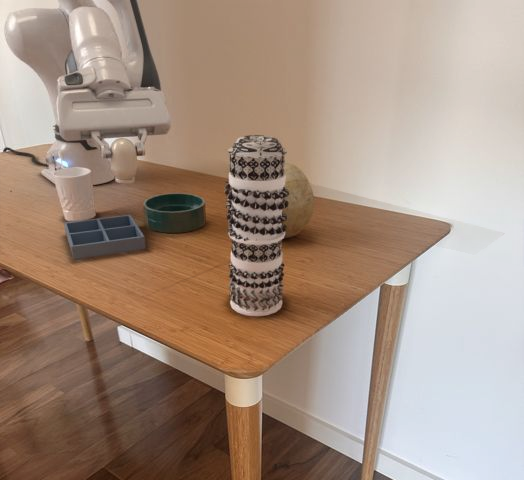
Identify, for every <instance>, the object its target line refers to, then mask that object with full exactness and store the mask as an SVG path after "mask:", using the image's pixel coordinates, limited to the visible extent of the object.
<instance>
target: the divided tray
mask: <svg viewBox="0 0 524 480" xmlns="http://www.w3.org/2000/svg"><path fill="white" fill-rule="evenodd" d="M63 226H64V230H65V236H66V239H67V242H68V245H69V249H70V253H71V255H72V258H73V261H75V260H81V259H88V258H95V257H102V256H108V255H115V254H116V255H117V254H123V253H129V252H135V251H136V252H137V251H141V250H142V251H143V250H146V249H147V246H146V239H145V235H144V234H143V232H142V230H141V229H140V227H139V225H138V224H137V222H136V221H135V220H134V218H133V216H132V215H131V214H125V215H123V214H122V215H115V216H108V217H107V216H106V217H101V218H100V217H99V218H90V219H87V220H81V221H67V222H63Z"/></svg>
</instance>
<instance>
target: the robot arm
mask: <svg viewBox="0 0 524 480" xmlns="http://www.w3.org/2000/svg"><path fill="white" fill-rule="evenodd" d="M106 1H107V2H108V3H110V5H111V6H112V7H113V8H114V10H115V12H116V14H117V16H118V20H119V24H120V26H121V27H120V28H121V30H122V33H123V37H124V40H125V44H126V48H127V51H128V55H127V56H125V57H123V50H122V47H121V43H120V40H119V36H118V34H117V32H116V31H117V30H116V28H115V26H114V23H113V21H112V19H111V17H110V16H109V14H108V13H107V12H106V11H105V10H104V9H103V8H101V7H99V6H97V4H96V3H95V1H94V0H58V7H57V8H41V7H40V8H37V7H36V8H35V7H33V8H32V7H29V8H25V9H19V10H15V11H12V12H9V13H8V14H7V17H6V18H5V21H4V27H3V28H4V29H3V32H4V38H5V41H6V44H7V46H8V48H9V49H10V51H11V52H12V54H13V55H14V56H15V57H16V58H17V59H18V60H20V61H21V62H22V63H24V64H26V65H27V66H28V67H29V68H31V69H32V70H33V72H34V73H36V75H37V76H38V77H39V78H40V80H41V81H42V83H43V85H44V87H45V88H46V92H47V93H48V97H49V100H50V103H51V107H52V111H53V115H54V116H53V117H54V121H55V124H54V125H52V127H54V128H53V131H54V138H55V141H54V142H53V144H52V145H51V147H50V148H49V149H48V150H47V152H46V156H45V157H44V160H45V163H43V162H40V161H39V160H36V159H35V158H36V157H35V154H33V153H30V152H24V151H17V150H14V149H13V148H11V147H8V146H6V147H4V148H3V150H2V152H3V153H7V151H9V152H11V153H13V154H15V155H20V156H26V157H27V156H28V157H30V159H31V162H33V164H34V163H35V164H37V165H38V166H42V167H46V168H44V169H42V170H40V173H41V176H43V177H45V178H46V179H47V180H48V181H50V182H51V183H53V184H54V185H55V182H54V178H53V174H52V173H53V172H54V171H56V170H59V169H64V168H73V167H80V168H87V169H90V170H91V175H92V183H93V186H95V185H100V184H101V185H102V184H105V183H109V182H112V181H113V180H115V177H116V176H115V175H114V174H113V172H112V169H111V160H110V158H111V151H110V147H111V146H110V144H109V143H108V142H107V141H106V140H105V139H119V138H133V137H137V138H138V141H139V142H135V143H134V145H135V147H136V150H137V157H142V156H143V157H144V156H146V147H145V144H146V141H147V137H148V136H161V135H162V136H164V135H167V134H168V133H169V131H170V130H171V126H172V117H171V115H170V111H169V109H168V107H167V100H166V96H165V94H164V92H163V91H162V83H161V78H160V75H159V72H158V69H157V67H156V64H155V63H156V62H155V61H154V58H153V55H152V50H151V47H150V44H149V41H148V36H147V33H146V29H145V26H144V22H143V18H142V15H141V11H140V7H139V4H138V0H106Z"/></svg>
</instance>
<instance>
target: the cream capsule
mask: <svg viewBox="0 0 524 480" xmlns="http://www.w3.org/2000/svg"><path fill="white" fill-rule="evenodd" d="M109 147H110V151H111V158H110V160H111V169H112V172H113V174H114V175H115V178H114V181H115V182H116V183H118V184H127V185H128V184H133V183H135V182H136V175H137V173H138V156H137V150H136V147H135V143H134V142H132V140H130V139H128V138H126V137H119V138H115V140H114V141H112V143H111V144H110V146H109Z"/></svg>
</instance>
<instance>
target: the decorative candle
mask: <svg viewBox="0 0 524 480" xmlns="http://www.w3.org/2000/svg"><path fill="white" fill-rule="evenodd" d="M227 152H228V154H229V173H228V179H226V181H225V182H224V185H225V189H224V190H223V191H224V194H225V195H226V198H227V200H226V205H225V209H226V210H227V213H226V214H225V218H226V219H227V222H228V227H227V232H228V236H229V238H230V239H231V251H230V261H229V264H228V268H229V271H230V273H228V277H229V278H230V282H229V283H228V288H229V289H230V290H229V291H230V292H229V293H228V295H229V298H230V302H229V304H230V306H231V309H232V310H233V311H235V312H236V313H238V314H241V315H244V316H249V317H264V316H269V315H272V314H275V313H277V312H278V311H280V309H282V306H283V296H284V292H283V290H284V288H283V287H284V286H285V284H284V283H283V282H282V281H283V280H284V276H285V273H284V268H285V263H284V262H283V253H284V252H283V251H282V245H283V241H282V240H283V239H285V238H284V236H285V231H286V228H287V226H286V225H284V224H283V222H284V221H286V220H287V215H286V214H284V213H283V211H282V209H284V208H286V207H288V204H289V202H288V201H287V200H285V199H283V198H285V197H287V196H288V195H289V191H288V190H287V189H286V188H285V187H284V185H285V178H286V174H285V173H284V166H285V162H286V160H285V156H286V154H287V153H288V150H287V148H285V147H283V145H282V143H281V142H280V140H278V138H276V137H274V136H270V135H264V134H250V135H243V136H239V137H238V138H237V139H236V140H235V141H234V144H233V145H232V147H230V148H228V149H227ZM283 187H284V188H283Z"/></svg>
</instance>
